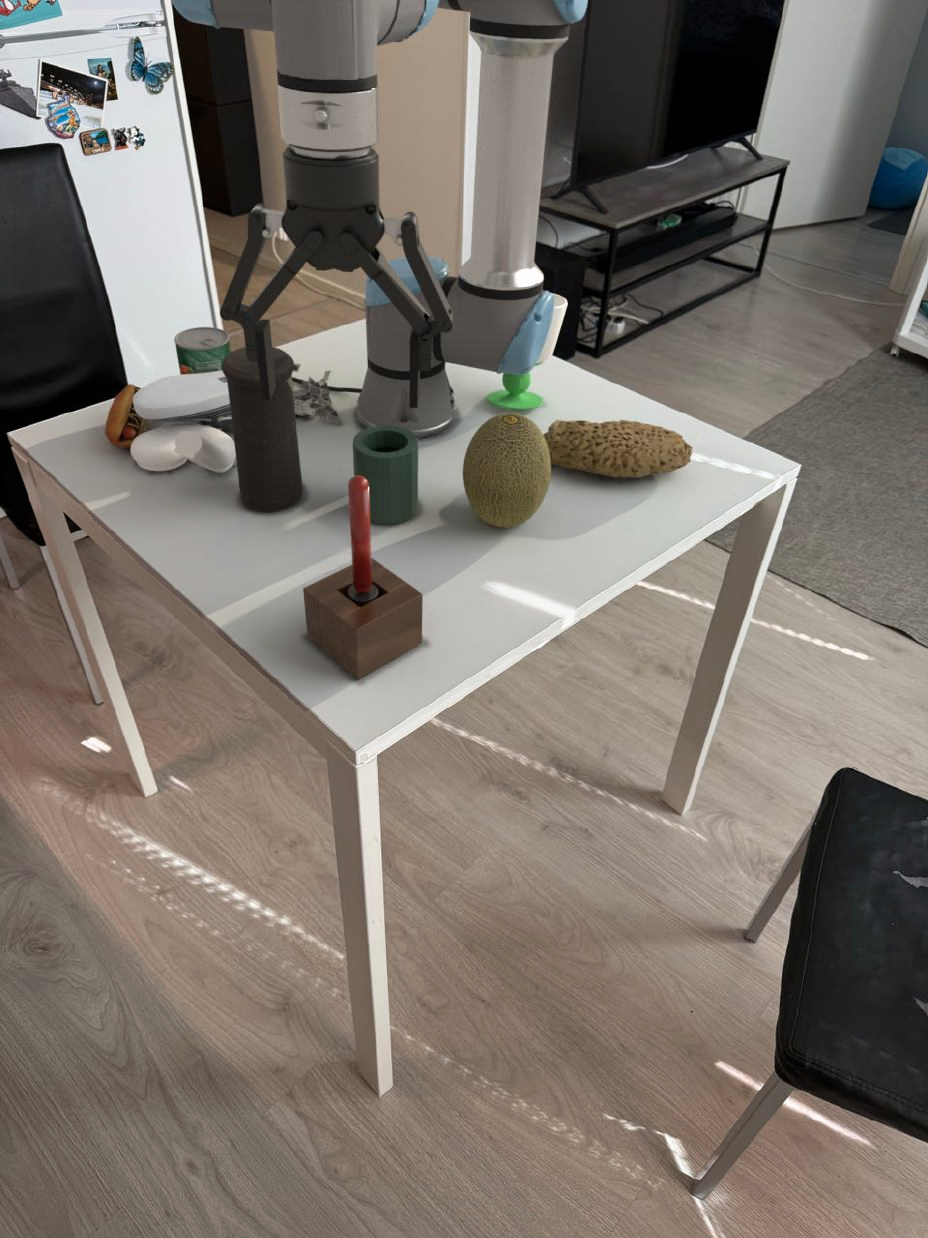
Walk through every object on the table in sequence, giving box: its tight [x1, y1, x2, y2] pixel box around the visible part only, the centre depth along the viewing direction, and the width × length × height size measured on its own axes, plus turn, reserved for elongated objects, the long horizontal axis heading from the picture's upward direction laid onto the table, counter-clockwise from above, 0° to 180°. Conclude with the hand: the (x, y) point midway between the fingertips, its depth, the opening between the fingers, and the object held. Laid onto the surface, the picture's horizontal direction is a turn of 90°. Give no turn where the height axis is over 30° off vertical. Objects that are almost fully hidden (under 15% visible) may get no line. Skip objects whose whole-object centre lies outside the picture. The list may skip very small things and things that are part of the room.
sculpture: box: [130, 423, 236, 474], centre depth 125 cm, size 12×15×8 cm
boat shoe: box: [133, 370, 233, 432], centre depth 132 cm, size 24×9×8 cm, turn 136°
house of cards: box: [292, 363, 340, 425], centre depth 137 cm, size 9×9×8 cm
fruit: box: [462, 412, 552, 529], centre depth 115 cm, size 11×11×15 cm
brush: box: [347, 475, 378, 607], centre depth 93 cm, size 3×3×21 cm
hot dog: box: [104, 383, 150, 449], centre depth 131 cm, size 5×13×5 cm
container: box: [222, 346, 303, 513], centre depth 115 cm, size 9×9×20 cm
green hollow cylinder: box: [352, 426, 419, 526], centre depth 118 cm, size 8×8×10 cm
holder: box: [302, 557, 424, 681], centre depth 98 cm, size 9×9×7 cm
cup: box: [486, 290, 569, 411], centre depth 141 cm, size 14×14×16 cm
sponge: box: [543, 419, 693, 479], centre depth 129 cm, size 13×8×20 cm
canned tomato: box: [173, 326, 232, 375], centre depth 137 cm, size 8×8×11 cm
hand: (341, 397), depth 84 cm, fingers open, 13 cm apart
